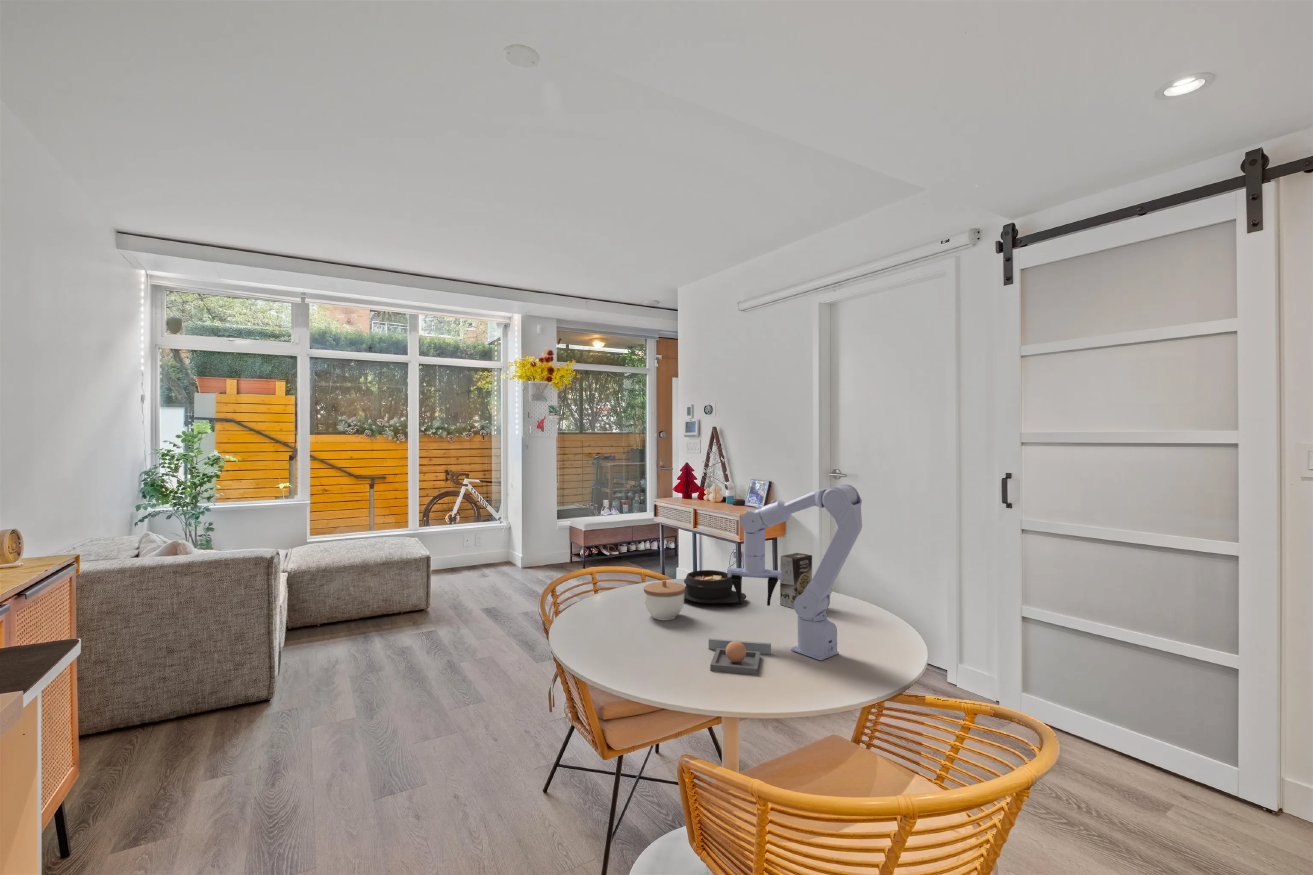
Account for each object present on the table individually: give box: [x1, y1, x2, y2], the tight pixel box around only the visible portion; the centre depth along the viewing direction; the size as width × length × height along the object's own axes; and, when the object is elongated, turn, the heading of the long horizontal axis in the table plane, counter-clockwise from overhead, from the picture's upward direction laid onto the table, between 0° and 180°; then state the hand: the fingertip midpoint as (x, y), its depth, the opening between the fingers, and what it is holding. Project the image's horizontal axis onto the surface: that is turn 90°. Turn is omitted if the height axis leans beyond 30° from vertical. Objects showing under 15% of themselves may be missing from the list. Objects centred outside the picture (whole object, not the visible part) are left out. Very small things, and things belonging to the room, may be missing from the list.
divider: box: [708, 637, 772, 655], centre depth 155 cm, size 16×1×2 cm, turn 76°
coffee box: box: [779, 552, 813, 610], centre depth 195 cm, size 9×6×16 cm
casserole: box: [683, 569, 747, 605], centre depth 200 cm, size 25×19×8 cm
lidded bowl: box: [643, 579, 685, 621], centre depth 183 cm, size 13×13×11 cm
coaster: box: [709, 648, 761, 676], centre depth 146 cm, size 11×11×1 cm
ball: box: [726, 640, 746, 663], centre depth 146 cm, size 5×5×5 cm
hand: (754, 603), depth 164 cm, fingers open, 7 cm apart
